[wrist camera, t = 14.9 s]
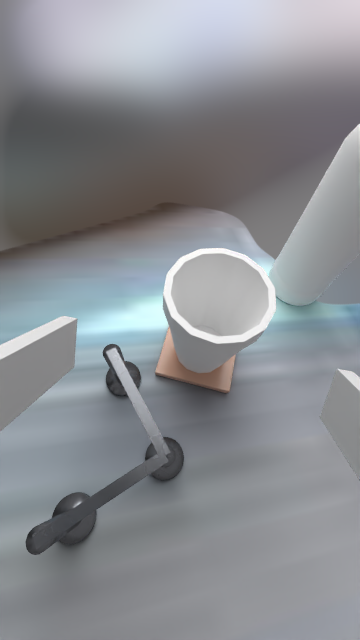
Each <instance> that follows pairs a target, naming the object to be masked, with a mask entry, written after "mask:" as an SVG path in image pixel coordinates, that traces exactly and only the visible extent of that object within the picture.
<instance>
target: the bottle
mask: <svg viewBox="0 0 360 640" xmlns="http://www.w3.org/2000/svg"><path fill="white" fill-rule="evenodd" d="M359 254H360V124H359V125H358V126H357V127H356V128H355V129H354V130H353V131H352V132H351V133H350V134H349V135H348V136H347V137H346V138H345V140H344V142H343V143H342V145H341V147H340V149H339V150H338V152H337V154H336V156H335V158H334V159H333V161H332V163H331V165H330V166H329V168H328V170H327V172H326V173H325V175H324V177H323V179H322V180H321V182H320V184H319V186H318V188H317V190H316V191H315V193H314V195H313V196H312V198H311V200H310V202H309V203H308V205H307V207H306V209H305V211H304V213H303V214H302V216H301V218H300V220H299V221H298V223H297V225H296V226H295V228H294V230H293V232H292V233H291V235H290V237H289V239H288V241H287V242H286V244H285V246H284V248H283V249H282V251H281V253H280V255H279V256H278V258H277V259H276V260H275V262H274V264H273V266H272V269H271V271H270V273H269V276H268V277H269V279H270V280H271V282H272V284H273V286H274V287H275V295H276V296H277V297H278V298H279V299H280V300H282V301H284V302H286V303H288V304H291V305H296V306H303V305H308V304H310V303H312V302H314V301H315V300H316V299H317V298H318V297H320V296H321V295H322V294H323V293H324V292H325V291H326V289H327V288H328V287H329V285H330V284H331V283H332V282H333V281H334V280H335V279H336V278H337V277H338V276H339V275H340V274H341V273H342V272H343V271H344V270H345V269H346V267H347V266H348V265H349V264H350V263H351V262H352V261H353V260H354V259H355V258H356V257H357V256H358V255H359Z"/></svg>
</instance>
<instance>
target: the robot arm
mask: <svg viewBox="0 0 360 640" xmlns="http://www.w3.org/2000/svg"><path fill="white" fill-rule="evenodd" d="M76 331H77V318H72V317H67V316H62V317H59V318H57V319H55V320H53V321H51V322H49V323H47V324H44V325H42V326H40V327H38V328H36V329H34V330H32V331H29V332H27V333H25V334H23V335H21V336H19V337H17V338H14V339H12V340H10V341H8V342H6V343H4V344H2V345H0V431H2V430H3V429H4V428H5V427H6V426H7V425H8V424H10V423H11V422H12V421H13V420H14V419H15V418H16V417H18V416H19V415H20V414H21V413H22V412H23V411H24V410H26V409H27V408H28V407H29V406H30V405H31V404H32V403H34V402H35V401H36V400H37V399H38V398H39V397H40V396H42V395H43V394H44V393H45V392H46V391H47V390H48V389H50V388H51V387H52V386H53V385H54V384H55V383H56V382H58V381H59V380H60V379H61V378H62V377H63V376H64V375H66V374H67V373H68V372H69V371H70V370H71V369H72V368H74V363H75V347H76ZM320 418H321V420H322V422H323V423H324V425H325V426H326V428H327V430H328V431H329V433H330V434H331V436H332V438H333V439H334V441H335V442H336V444H337V445H338V447H339V449H340V450H341V452H342V453H343V455H344V457H345V458H346V460H347V461H348V463H349V464H350V466H351V468H352V469H353V471H354V472H355V474H356V476H357V477H358V479H359V480H360V378H359V377H358V376H357V375H356V374H355V373H354V372H351V371H346V370H341V369H337V370H336V373H335V375H334V378H333V381H332V384H331V387H330V390H329V392H328V395H327V398H326V401H325V404H324V407H323V410H322V412H321V415H320Z"/></svg>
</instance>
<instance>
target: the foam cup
mask: <svg viewBox="0 0 360 640" xmlns="http://www.w3.org/2000/svg"><path fill="white" fill-rule="evenodd" d="M163 310H164V313H165V316H166V318H167V321H168V324H169V327H170V331H171V335H172V339H173V344H174V348H175V351H176V354H177V357H178V360H179V362H180V363H181V364H182V365H183V366H184V367H185V368H186V369H188V370H190V371H193V372H196V373H209V372H211V371H213V370H215V369H216V368H218V367H220V366H221V365H222V364H224V363H225V362H226V361H228V360H229V359H230V358H231V357H233V356H234V355H235V354H237V353H238V352H239V351H241V350H242V349H244V348H246V347H247V346H249V345H250V344H252V343H254V342H255V341H257V339H258V338H259V337H260V336H261V334H262V333H263V332H264V330H265V329H266V327H267V326H268V324H269V322H270V320H271V318H272V316H273V315H274V313H275V311H276V296H275V287H274V286H273V284H272V282H271V280H270V279H269V277H268V275H267V273H266V272H265V270H264V269H263V268H262V267H261V266H259V265H258V264H257V263H255V262H254V261H253V260H251V259H250V258H249V257H247V256H246V255H244V254H240V253H237V252H234V251H231V250H228V249H225V248H212V249H199V250H197V251H194V252H192V253H190V254H188V255H185V256H183V257H181V258H180V259H179V260H178V261H177V262H176V263H175V265H174V266H173V267H172V268H171V269H170V271H169V272H168V273H167V276H166V282H165V287H164V293H163Z"/></svg>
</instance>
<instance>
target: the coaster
mask: <svg viewBox="0 0 360 640" xmlns="http://www.w3.org/2000/svg"><path fill="white" fill-rule="evenodd" d="M235 355H236V354H235ZM235 355H234V356H233V357H231V358H230V359H229V360H228V361H226V362H225V363H224V364H222V365H221V366H220V367H218V368H216V369H215V370H213V371H211V372H209V373H196V372H193V371H190V370H188V369H186V368H185V367H184V366H183V365H182V364H181V363H180V362H179V360H178V357H177V354H176V351H175V348H174V344H173V339H172V335H171V331H170V327H169V328H168V331H167V335H166V338H165V341H164V345H163V348H162V351H161V355H160V358H159V361H158V365H157V368H156V371H155V374H156V375H159V376H163V377H167V378H171V379H175V380H178V381H182V382H186V383H190V384H194V385H197V386H201V387H205V388H209V389H213V390H216V391H220V392H224V393H229V392H230V386H231V380H232V374H233V368H234V361H235Z"/></svg>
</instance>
